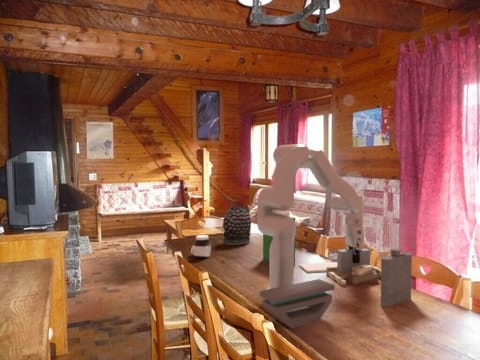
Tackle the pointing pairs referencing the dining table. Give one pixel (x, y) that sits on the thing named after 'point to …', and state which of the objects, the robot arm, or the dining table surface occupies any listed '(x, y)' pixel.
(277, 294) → the sharpening stone
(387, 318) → the dining table surface
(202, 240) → the spread jar
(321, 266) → the felt mat
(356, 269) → the pine offcut
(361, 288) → the dining table surface
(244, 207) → the bumpy dark dome
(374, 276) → the walnut offcut
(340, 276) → the rack
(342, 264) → the grey rectangular block
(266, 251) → the hardback book
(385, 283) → the hip flask
